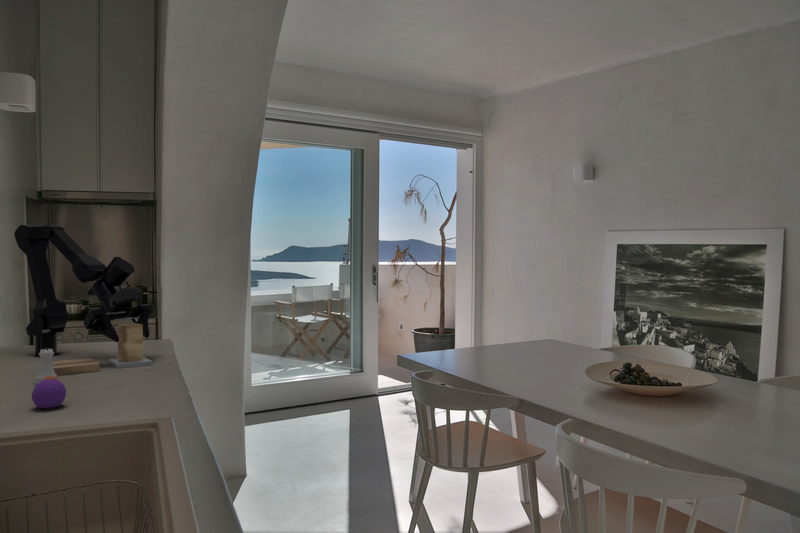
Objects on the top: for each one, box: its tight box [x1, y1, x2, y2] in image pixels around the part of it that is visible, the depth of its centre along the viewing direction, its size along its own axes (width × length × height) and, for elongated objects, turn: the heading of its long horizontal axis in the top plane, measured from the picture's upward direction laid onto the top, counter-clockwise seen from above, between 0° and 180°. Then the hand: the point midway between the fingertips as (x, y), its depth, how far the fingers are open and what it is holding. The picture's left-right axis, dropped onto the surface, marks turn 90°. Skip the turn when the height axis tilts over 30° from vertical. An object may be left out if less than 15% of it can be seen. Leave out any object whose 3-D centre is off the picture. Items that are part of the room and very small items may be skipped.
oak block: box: [117, 322, 144, 362], centre depth 161 cm, size 4×4×10 cm
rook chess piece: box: [35, 349, 58, 385], centre depth 138 cm, size 4×4×8 cm
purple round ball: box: [31, 376, 67, 410], centre depth 123 cm, size 6×6×20 cm
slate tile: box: [108, 356, 153, 369], centre depth 162 cm, size 9×9×1 cm
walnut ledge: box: [52, 357, 101, 377], centre depth 152 cm, size 10×11×2 cm
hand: (133, 339), depth 161 cm, fingers open, 9 cm apart
